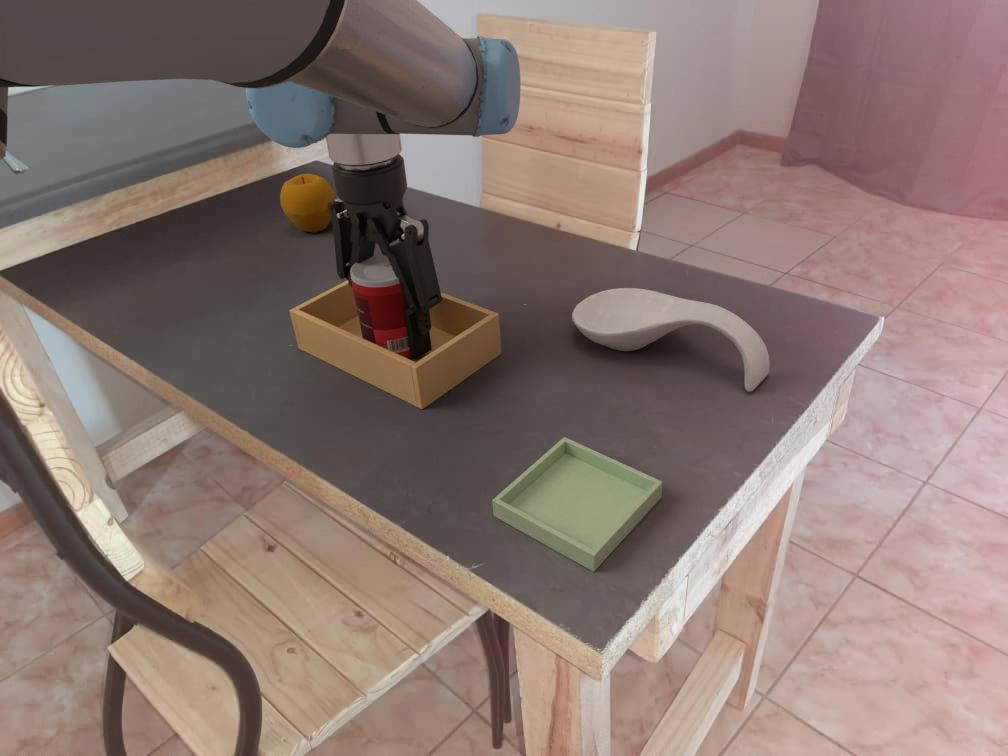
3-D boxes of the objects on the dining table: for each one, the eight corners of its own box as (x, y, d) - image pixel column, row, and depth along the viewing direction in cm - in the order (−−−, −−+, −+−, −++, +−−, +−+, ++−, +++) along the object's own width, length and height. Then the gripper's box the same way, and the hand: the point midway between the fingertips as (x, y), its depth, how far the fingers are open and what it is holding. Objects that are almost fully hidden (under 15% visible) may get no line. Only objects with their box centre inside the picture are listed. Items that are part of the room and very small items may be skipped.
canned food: (442, 339, 95) (432, 258, 89) (402, 372, 90) (388, 288, 83) (393, 324, 99) (381, 245, 92) (352, 355, 93) (335, 273, 87)
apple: (288, 221, 130) (277, 170, 125) (340, 215, 131) (330, 163, 126) (286, 242, 123) (273, 189, 118) (340, 235, 124) (329, 182, 119)
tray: (593, 572, 65) (594, 555, 63) (493, 516, 71) (491, 500, 69) (661, 497, 71) (662, 481, 70) (564, 452, 77) (564, 436, 76)
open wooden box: (501, 353, 93) (499, 313, 90) (422, 409, 84) (416, 368, 81) (379, 303, 105) (372, 266, 101) (298, 348, 96) (288, 310, 93)
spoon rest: (553, 344, 94) (552, 292, 90) (606, 303, 101) (607, 253, 97) (738, 411, 81) (746, 354, 77) (783, 359, 88) (793, 304, 84)
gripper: (464, 164, 78) (481, 355, 91) (331, 132, 89) (363, 306, 102) (410, 188, 73) (436, 386, 86) (277, 151, 84) (318, 331, 97)
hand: (397, 342), depth 94 cm, fingers closed on canned food, 8 cm apart
